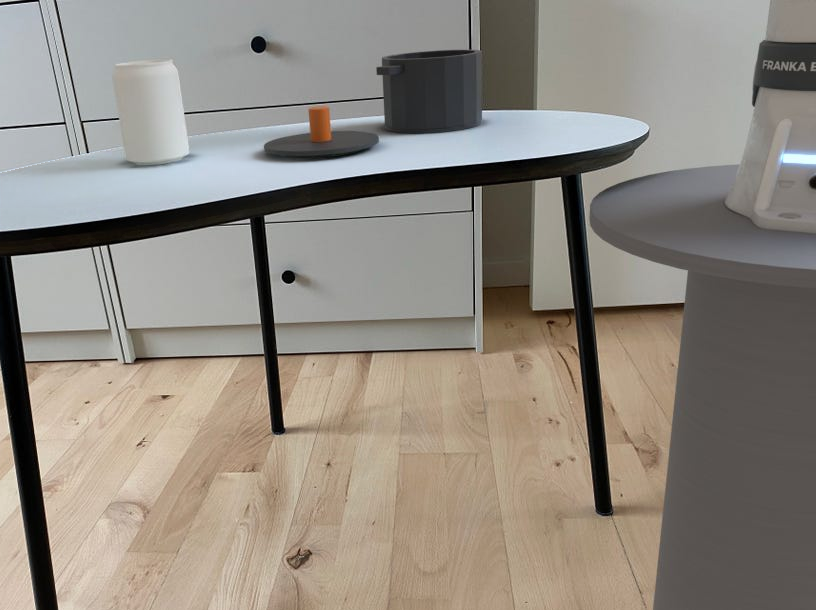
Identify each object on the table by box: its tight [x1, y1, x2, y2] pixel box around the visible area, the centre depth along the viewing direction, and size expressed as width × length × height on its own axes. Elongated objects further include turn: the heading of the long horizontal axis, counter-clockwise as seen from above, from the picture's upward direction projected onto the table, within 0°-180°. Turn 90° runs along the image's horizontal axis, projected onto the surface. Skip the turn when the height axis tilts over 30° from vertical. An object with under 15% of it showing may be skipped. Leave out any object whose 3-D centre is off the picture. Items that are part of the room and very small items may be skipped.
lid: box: [263, 105, 380, 159], centre depth 105 cm, size 15×15×5 cm
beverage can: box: [111, 58, 190, 166], centre depth 105 cm, size 8×8×12 cm
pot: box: [375, 49, 483, 134], centre depth 116 cm, size 14×19×10 cm
